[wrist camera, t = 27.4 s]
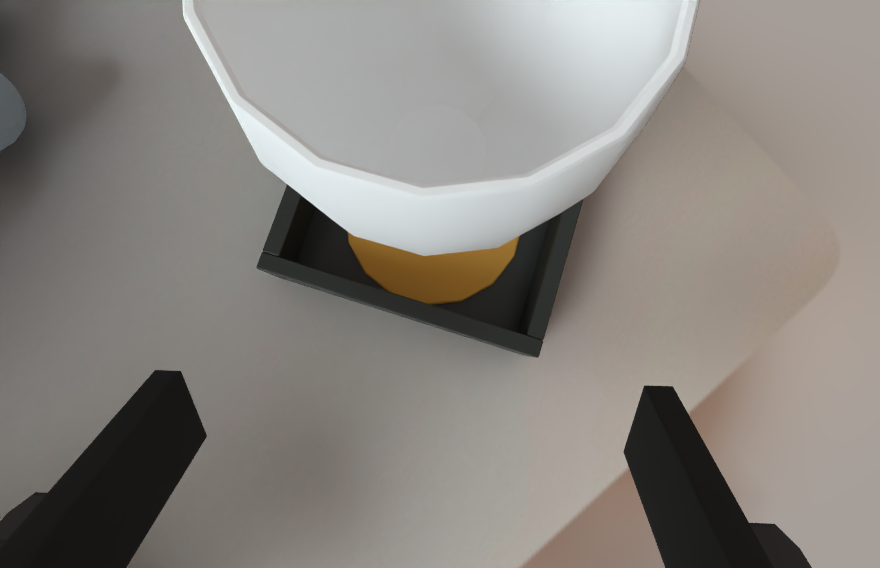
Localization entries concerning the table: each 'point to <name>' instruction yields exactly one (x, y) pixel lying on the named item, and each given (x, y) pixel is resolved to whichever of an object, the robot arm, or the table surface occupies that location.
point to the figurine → (10, 113)
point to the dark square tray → (478, 317)
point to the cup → (442, 115)
